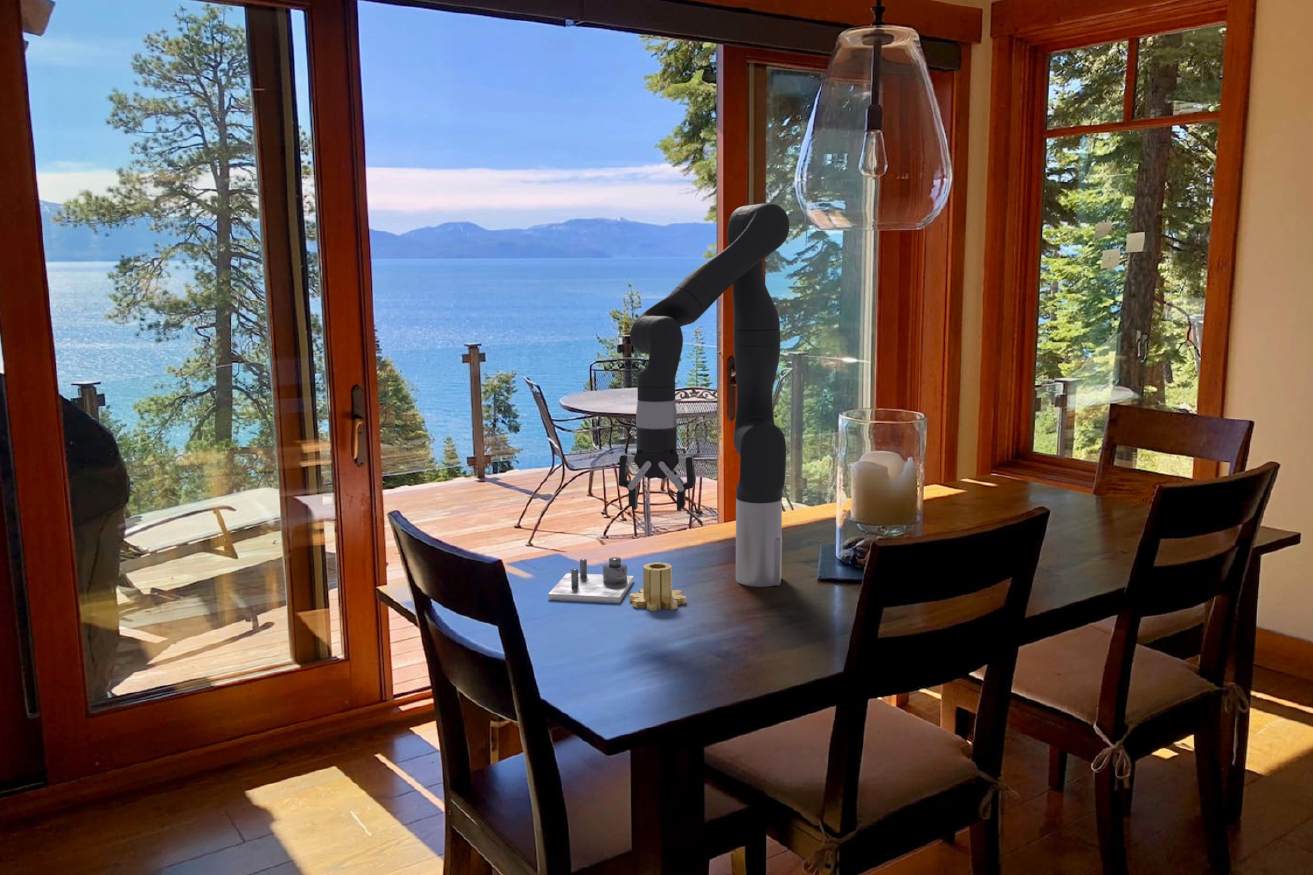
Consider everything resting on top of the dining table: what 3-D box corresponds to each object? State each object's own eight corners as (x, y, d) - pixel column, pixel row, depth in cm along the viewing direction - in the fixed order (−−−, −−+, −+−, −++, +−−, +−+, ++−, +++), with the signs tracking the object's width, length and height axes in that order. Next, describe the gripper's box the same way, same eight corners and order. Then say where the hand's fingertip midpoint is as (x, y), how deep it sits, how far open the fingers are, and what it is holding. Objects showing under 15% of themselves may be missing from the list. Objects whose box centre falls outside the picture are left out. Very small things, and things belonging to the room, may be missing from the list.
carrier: (633, 581, 197) (633, 554, 196) (619, 603, 184) (619, 573, 183) (567, 578, 200) (566, 551, 199) (548, 599, 186) (547, 570, 185)
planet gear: (689, 594, 189) (689, 559, 188) (681, 612, 178) (681, 575, 177) (635, 591, 191) (635, 557, 190) (624, 609, 180) (624, 573, 179)
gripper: (697, 422, 182) (697, 506, 184) (623, 420, 184) (624, 504, 187) (691, 427, 175) (691, 515, 177) (614, 426, 177) (615, 512, 179)
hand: (656, 509), depth 182 cm, fingers open, 8 cm apart
